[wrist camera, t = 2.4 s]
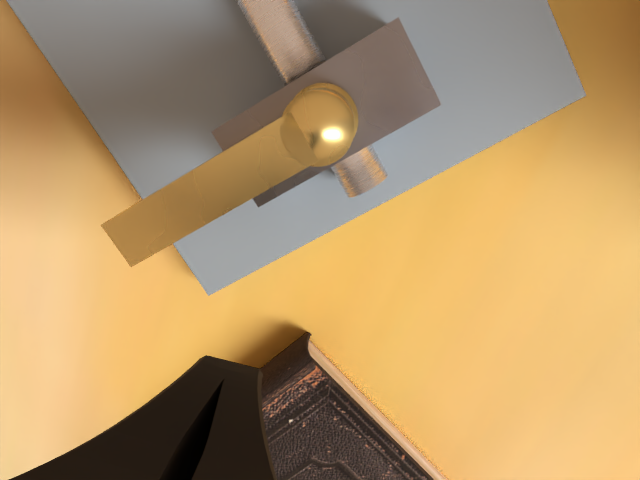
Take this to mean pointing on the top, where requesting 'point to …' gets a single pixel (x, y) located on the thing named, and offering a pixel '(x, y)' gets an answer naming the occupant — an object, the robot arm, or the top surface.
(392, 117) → the grey block
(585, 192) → the top surface
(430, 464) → the hardcover book
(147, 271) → the top surface
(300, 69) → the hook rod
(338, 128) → the ball knob lever
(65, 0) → the board
